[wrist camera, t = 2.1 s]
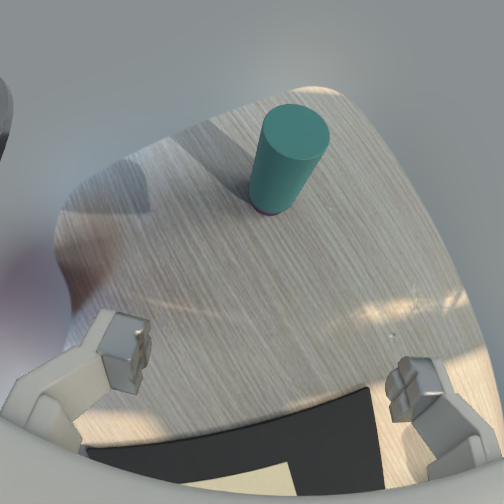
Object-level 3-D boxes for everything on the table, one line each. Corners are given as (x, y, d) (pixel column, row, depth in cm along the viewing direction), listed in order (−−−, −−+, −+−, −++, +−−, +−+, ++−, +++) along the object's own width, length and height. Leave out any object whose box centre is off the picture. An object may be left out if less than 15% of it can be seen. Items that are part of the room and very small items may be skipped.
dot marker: (253, 223, 24) (273, 164, 15) (242, 182, 25) (254, 107, 15) (296, 214, 25) (339, 154, 15) (284, 174, 25) (316, 101, 16)
